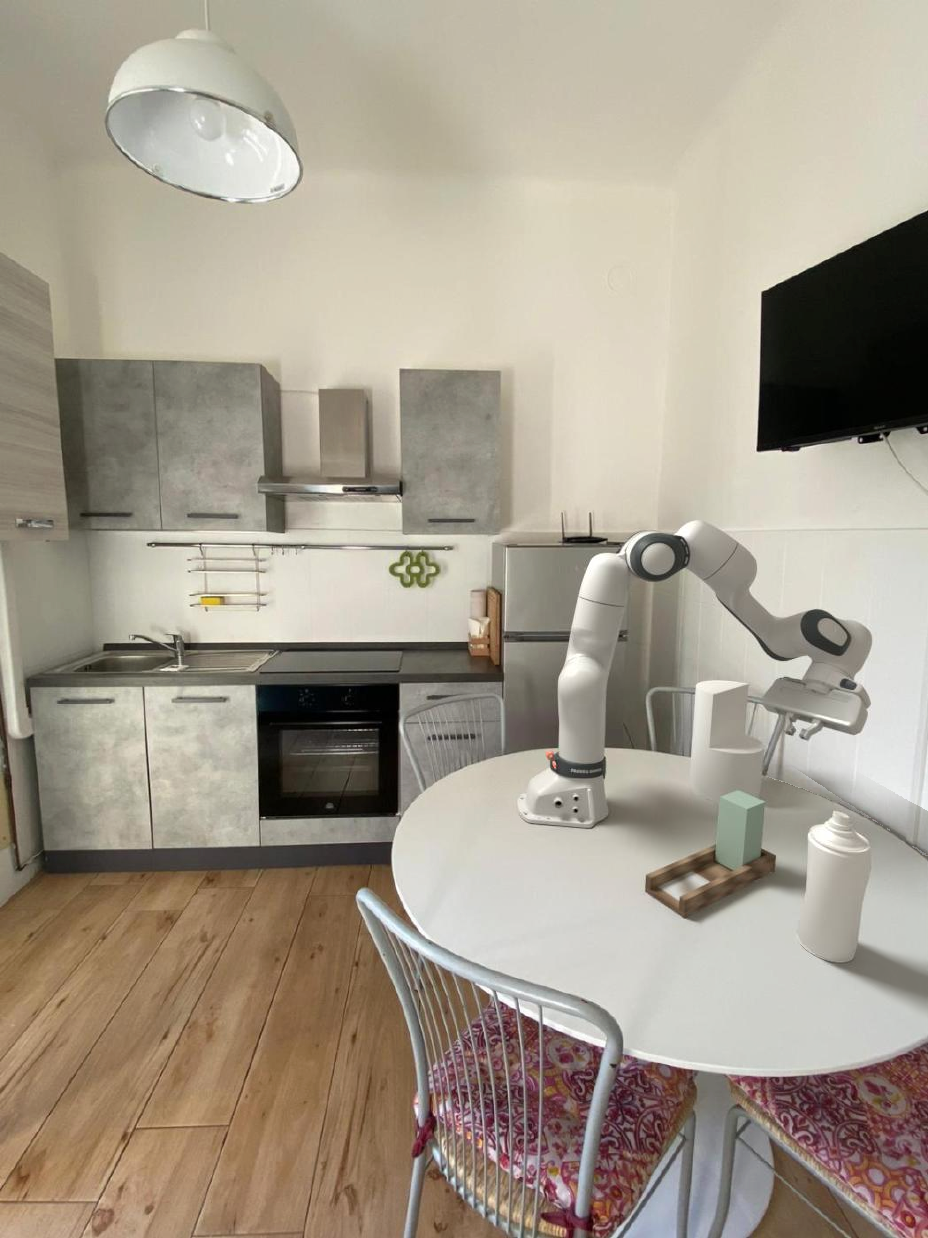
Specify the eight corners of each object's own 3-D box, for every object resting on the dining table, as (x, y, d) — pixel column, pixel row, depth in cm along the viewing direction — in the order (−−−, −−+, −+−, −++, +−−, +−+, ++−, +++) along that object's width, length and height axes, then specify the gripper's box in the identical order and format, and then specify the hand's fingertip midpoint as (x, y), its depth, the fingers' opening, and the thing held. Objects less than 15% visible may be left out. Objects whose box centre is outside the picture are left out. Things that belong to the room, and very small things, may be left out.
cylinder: (676, 787, 157) (682, 686, 153) (711, 771, 167) (718, 677, 163) (738, 812, 143) (746, 702, 139) (772, 793, 154) (781, 691, 149)
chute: (734, 850, 126) (735, 835, 126) (774, 871, 119) (776, 855, 118) (644, 891, 112) (645, 875, 112) (683, 918, 105) (685, 900, 104)
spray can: (884, 970, 92) (903, 824, 88) (827, 981, 90) (844, 831, 86) (825, 922, 103) (839, 790, 100) (773, 931, 101) (786, 796, 97)
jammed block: (732, 852, 123) (737, 790, 121) (759, 866, 118) (765, 801, 116) (714, 860, 120) (719, 797, 118) (741, 875, 115) (747, 809, 113)
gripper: (774, 667, 135) (745, 714, 132) (871, 687, 118) (841, 742, 114) (783, 683, 138) (755, 729, 135) (879, 705, 121) (850, 759, 117)
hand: (795, 736), depth 124 cm, fingers closed
